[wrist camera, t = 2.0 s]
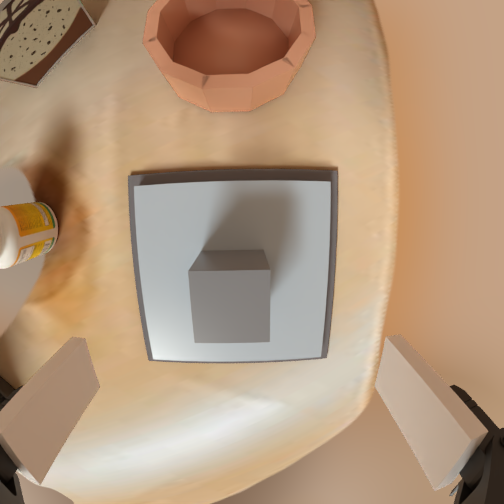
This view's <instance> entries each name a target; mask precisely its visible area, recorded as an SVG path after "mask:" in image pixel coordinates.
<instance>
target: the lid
mask: <svg viewBox="0 0 504 504" xmlns="http://www.w3.org/2000/svg"><path fill="white" fill-rule="evenodd" d="M134 203H135V223H136V237H137V249H138V260H139V270H140V279H141V287H142V295H143V302H144V309H145V316H146V322H147V328H148V334H149V340H150V345H151V350H152V356H153V359H156V360H174V361H209V362H235V361H270V360H289V359H303V358H315V357H321V352H322V343H323V333H324V322H325V311H326V298H327V284H328V267H329V246H330V208H331V182H327V181H279V180H261V181H212V182H189V183H171V184H156V185H143V186H134Z"/></svg>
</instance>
